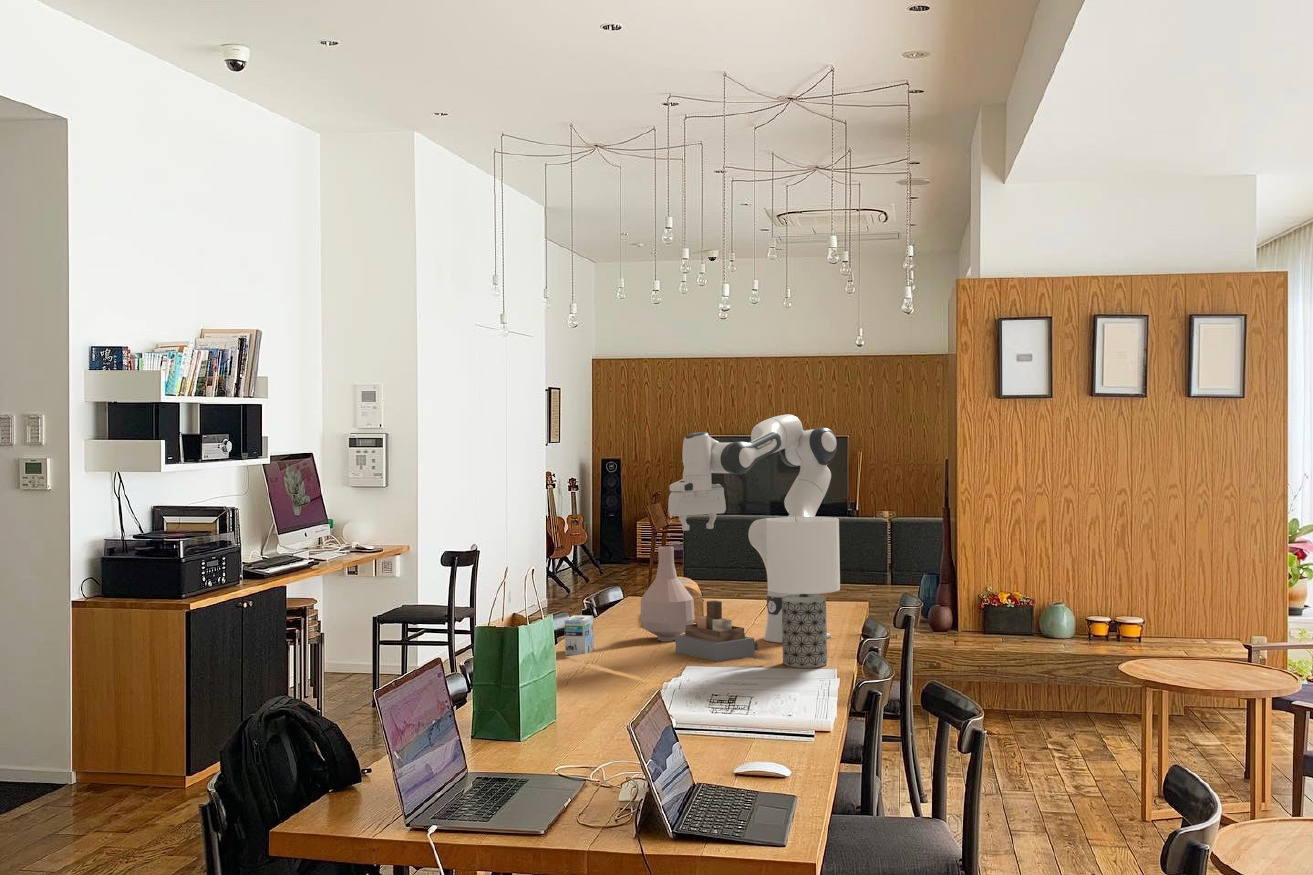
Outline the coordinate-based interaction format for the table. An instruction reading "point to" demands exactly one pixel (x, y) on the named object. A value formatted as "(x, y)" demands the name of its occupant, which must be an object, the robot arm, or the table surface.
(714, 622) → the cream block
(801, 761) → the table surface
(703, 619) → the terracotta block
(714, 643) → the loading dock
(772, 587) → the lamp
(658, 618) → the vase
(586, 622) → the light bulb box
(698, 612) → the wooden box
